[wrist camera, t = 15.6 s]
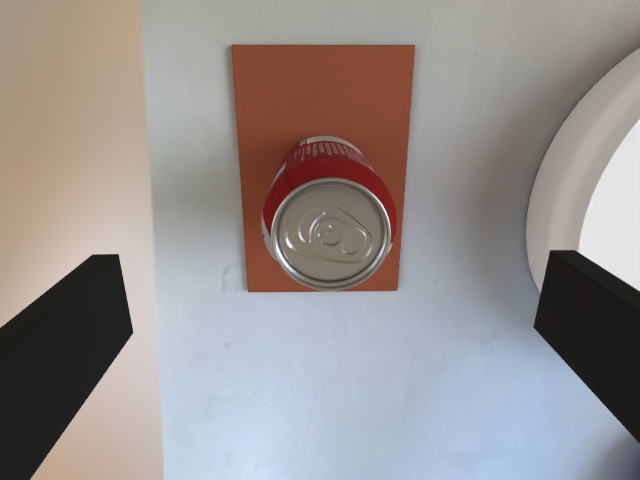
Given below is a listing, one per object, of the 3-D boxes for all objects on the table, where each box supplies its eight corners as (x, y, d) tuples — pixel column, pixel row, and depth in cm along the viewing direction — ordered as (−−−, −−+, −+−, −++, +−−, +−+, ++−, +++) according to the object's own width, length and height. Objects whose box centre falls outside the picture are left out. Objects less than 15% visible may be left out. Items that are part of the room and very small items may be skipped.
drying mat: (232, 45, 27) (231, 44, 27) (413, 45, 28) (415, 45, 27) (248, 290, 34) (248, 292, 33) (396, 288, 34) (397, 290, 33)
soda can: (300, 117, 29) (293, 136, 17) (386, 159, 30) (432, 203, 18) (262, 203, 31) (234, 270, 19) (344, 239, 32) (362, 323, 20)
